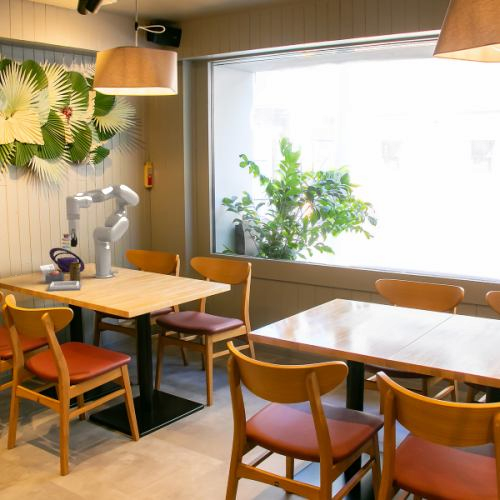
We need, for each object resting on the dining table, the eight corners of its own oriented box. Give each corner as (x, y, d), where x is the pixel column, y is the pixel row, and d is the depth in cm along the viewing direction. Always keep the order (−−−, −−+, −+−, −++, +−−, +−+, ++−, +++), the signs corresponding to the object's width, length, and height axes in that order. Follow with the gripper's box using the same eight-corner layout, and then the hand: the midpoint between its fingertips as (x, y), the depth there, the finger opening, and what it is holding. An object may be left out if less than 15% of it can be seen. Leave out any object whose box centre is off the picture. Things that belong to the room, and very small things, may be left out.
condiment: (78, 280, 378) (77, 261, 376) (84, 282, 371) (83, 262, 370) (66, 281, 373) (66, 262, 372) (72, 284, 367) (72, 264, 365)
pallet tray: (81, 284, 364) (81, 280, 364) (80, 290, 349) (80, 285, 349) (49, 285, 361) (49, 281, 360) (46, 291, 345) (46, 286, 345)
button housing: (64, 280, 378) (64, 272, 377) (63, 283, 368) (62, 275, 367) (47, 280, 376) (46, 272, 375) (45, 284, 366) (45, 275, 365)
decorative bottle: (68, 275, 395) (66, 236, 391) (43, 272, 403) (41, 234, 400) (91, 270, 415) (90, 233, 411) (66, 267, 423) (65, 231, 420)
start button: (59, 275, 374) (59, 270, 374) (58, 277, 369) (58, 272, 369) (50, 275, 373) (50, 270, 373) (50, 277, 368) (49, 272, 368)
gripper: (67, 216, 374) (68, 244, 377) (65, 218, 358) (66, 247, 360) (80, 215, 376) (81, 243, 378) (79, 218, 359) (80, 247, 362)
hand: (74, 245), depth 369 cm, fingers open, 9 cm apart
